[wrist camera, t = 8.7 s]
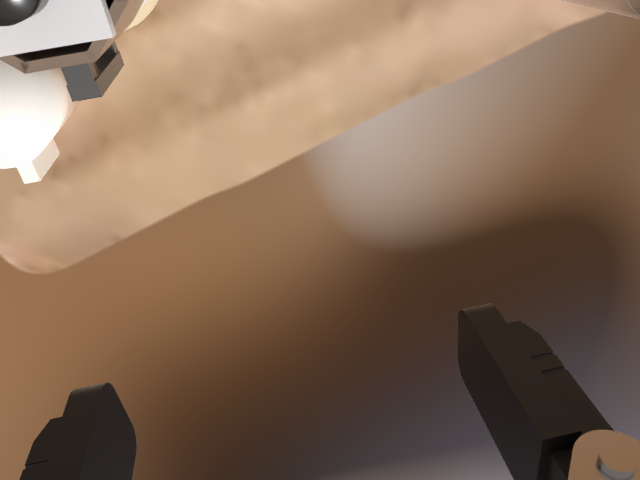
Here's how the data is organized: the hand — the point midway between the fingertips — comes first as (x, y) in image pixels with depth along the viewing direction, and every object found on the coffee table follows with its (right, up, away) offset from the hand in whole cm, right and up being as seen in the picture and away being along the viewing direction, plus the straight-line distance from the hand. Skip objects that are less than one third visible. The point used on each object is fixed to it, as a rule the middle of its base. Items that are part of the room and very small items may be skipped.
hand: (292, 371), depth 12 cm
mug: (-24, +16, +31) cm, 42 cm away
